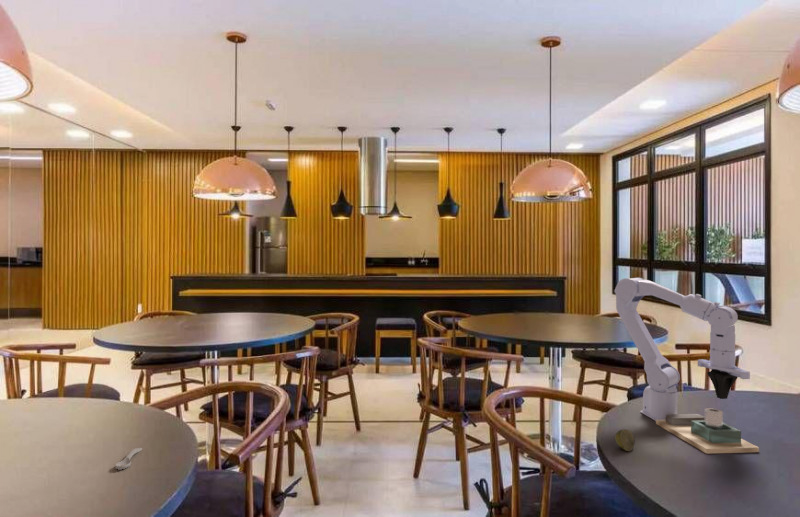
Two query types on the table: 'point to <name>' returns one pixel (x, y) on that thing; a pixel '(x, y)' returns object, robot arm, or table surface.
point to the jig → (706, 434)
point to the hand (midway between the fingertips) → (722, 398)
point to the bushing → (714, 418)
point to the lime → (625, 439)
